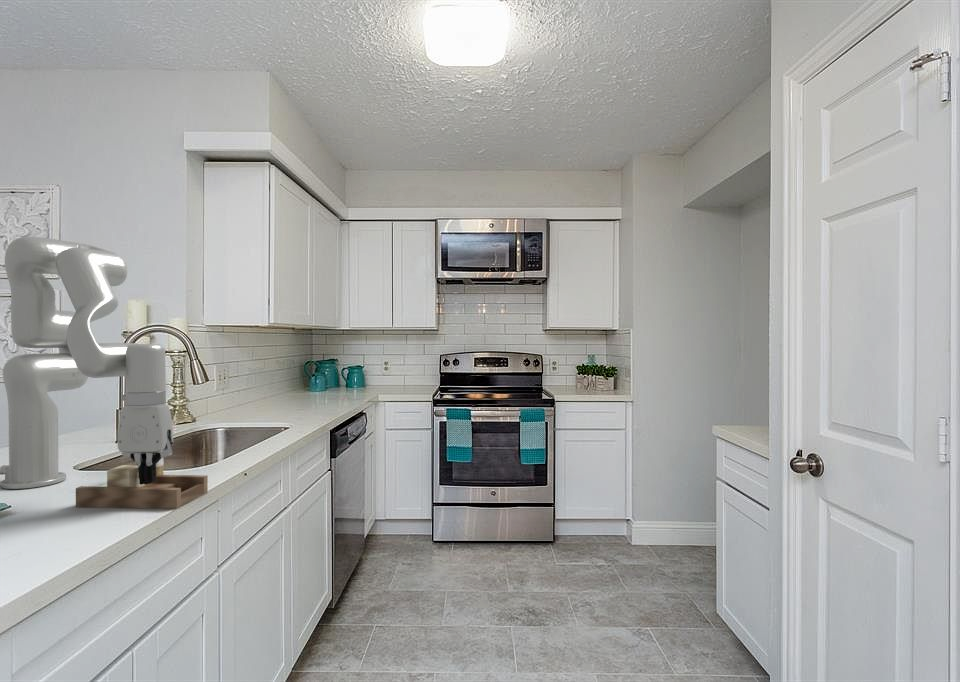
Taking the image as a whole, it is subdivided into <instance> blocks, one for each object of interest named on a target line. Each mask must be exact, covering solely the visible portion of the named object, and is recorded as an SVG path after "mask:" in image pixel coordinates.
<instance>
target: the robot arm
mask: <svg viewBox="0 0 960 682" xmlns="http://www.w3.org/2000/svg"><path fill="white" fill-rule="evenodd" d="M4 267H5V269H4V270H5V273H6V276H7V281H8V283H9V288H10V323H11V324H10V326H11V338H12V341H13V343H14V344H15V345H17V346H18V347H21V348H26V349H58V351H59V353H57V352H54V353H47V352H46V353H45V352H44V353H43V352H42V353H27V354H26V353H25V354H20V355H16V356H13V357H11V358H9V359H8V360H7V361H6V362H5V364H4V365H3V368H2V378H3V383H4V388H5V392H6V396H7V397H6V398H7V407H8V409H7V411H8V412H7V413H8V465H7V464H5V465H4V464H3V465H1V466H0V476H1V475H4V479H3V480H1V481H0V487H1V488H3V489H7V490H8V489H9V490H19V489H20V490H21V489H22V490H23V489H31V488H39V487H45V486H51V485H53V484H54V485H55V484H58V483H60V482H63V481H65V480H66V479H67V473H65V472H63V471H59V411H58V410H59V409H58V406H57V404H56V403H55V401H54V400H53V398H52V397H51V396H50V395H49V393H50V392H60V391H68V390H69V391H71V390H76V389H79V388H81V387H83V386H84V385H85V384H86V383H87V381H88V378H91V379H101V378H103V379H104V378H115V377H117V378H118V377H125V394H122V395H121V400H122V401H125V404H126V406H122V408H121V411H120V416H119V423H118V431H117V432H118V433H117V447H118V451H119V452H120V453H121V456H122V457H126V458H129V459H130V458H131V459H132V461H133V462H134V465H136V466H138V468H139V484H150V483H152V482H155V480H156V464H157V463H158V462H159V460H160V459H161V458H162V457H163V458H166V457H169V456H172V455H173V450H172V447H173V446H174V429H173V428H174V426H173V419H172V415H171V414H172V413H171V409H170V406H169V405H168V404H167V403H166V402H167V391H166V390H167V388H166V385H167V384H166V383H167V381H166V377H167V376H166V350H165V349H166V348H165V347H164V346H163V345H162V344H158V343H136V342H99V343H97V340H96V338H95V337H94V334H93V332H92V329H91V323H93V322H94V321H98V320H100V319H102V318H105V317H107V316H109V315H110V314H112V313H113V312H114V311H116V309H117V308H118V306H119V299H118V298H117V296H116V294H115V292H114V290H113V287H118V286H120V285H122V284H123V283H125V281H126V279H127V277H128V267H127V263H126V262H125V260H124V259H123V258H122V257H121V256H120V255H119V254H118V253H116V252H114V251H110V250H108V249H103V248H101V247H97V246H93V245H90V244H85V243H80V242H72V241H67V240H60V239H56V238H49V237H48V238H47V237H42V236H20V237H18V238H16V239H14V240H12V241H11V242H10V243H9V245H7V247H6V250H5V254H4ZM44 274H46V275H47V274H48V275H49V274H50V275H57V276H58V275H59V277H60V279H61V281H62V284H63V286H64V288H65V290H66V292H67V294H68V297H69V300H70V302H71V304H72V305H73V308H74V310H75V311H71V310H57V308H56V292H55V289H54V287H53V286H52V284H51V283H50V281H49V280H48V279H47V278H46V277H45V275H44ZM162 449H163V451H162V452H160V451H161V450H162Z"/></svg>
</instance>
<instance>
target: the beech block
mask: <svg viewBox="0 0 960 682" xmlns="http://www.w3.org/2000/svg"><path fill="white" fill-rule="evenodd" d="M106 484H107V487H142V486H144V485H145V484H139V468H138V466H136V464H133V465H131V464H124V465H123V464H122V465H118V466H116V467H113V468H110V469H107V470H106Z"/></svg>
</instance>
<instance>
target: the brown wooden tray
mask: <svg viewBox="0 0 960 682" xmlns="http://www.w3.org/2000/svg"><path fill="white" fill-rule="evenodd" d="M208 482H209V481H208V475H205V474H202V475H195V474H194V475H193V474H192V475H191V474H163V475H156V480H155V482H152V483H150V484H145V485H144V486H142V487H107V483H105V484H103V485H99V486H92V485H91V486H86V485H85V486H84V485H81V486H78V487H75V508H106V509H107V508H108V509H110V508H111V509H113V508H114V509H155V510H156V509H161V510H163V509H165V510H169V509H170V510H178V509H179V508H182V507H183V506H185V505H187V504H189V503H191V502H193V501H195V500H197V499H198V498H201V497H202V496H204V495H206V494H208V493H209V491H208V488H209V487H208Z"/></svg>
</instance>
